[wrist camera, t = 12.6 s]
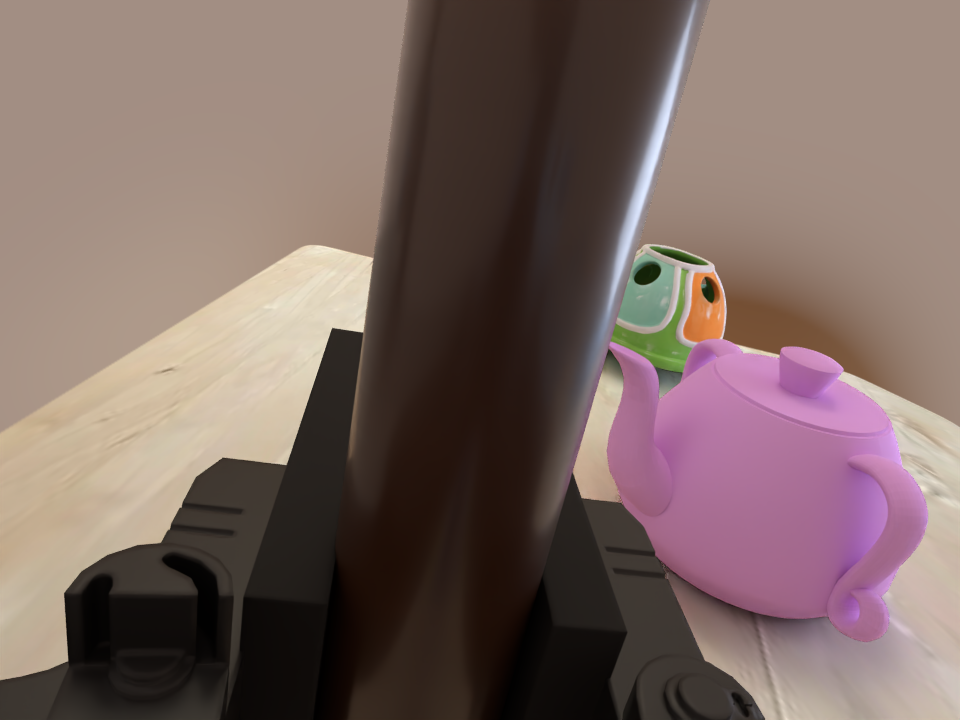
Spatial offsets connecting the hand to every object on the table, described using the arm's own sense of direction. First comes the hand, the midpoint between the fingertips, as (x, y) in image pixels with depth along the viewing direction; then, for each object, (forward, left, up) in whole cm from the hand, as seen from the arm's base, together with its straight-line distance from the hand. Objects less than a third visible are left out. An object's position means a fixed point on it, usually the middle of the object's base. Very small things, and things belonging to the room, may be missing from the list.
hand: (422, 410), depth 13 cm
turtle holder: (+39, +46, -20) cm, 63 cm away
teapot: (+27, +17, -20) cm, 37 cm away
